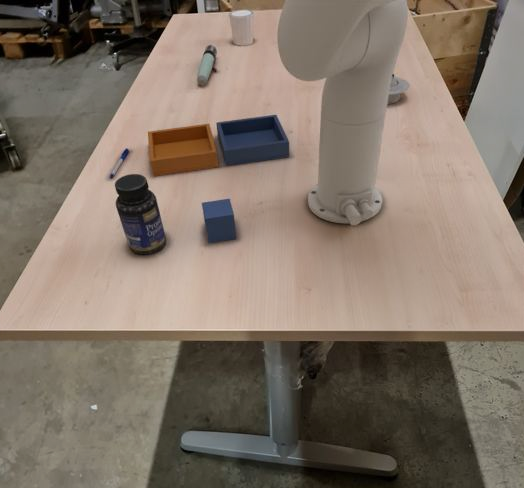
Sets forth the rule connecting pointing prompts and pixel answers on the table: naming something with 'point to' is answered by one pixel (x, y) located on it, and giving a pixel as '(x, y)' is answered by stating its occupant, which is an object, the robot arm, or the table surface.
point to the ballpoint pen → (119, 162)
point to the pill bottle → (139, 214)
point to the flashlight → (207, 64)
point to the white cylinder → (242, 26)
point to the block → (219, 220)
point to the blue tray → (252, 140)
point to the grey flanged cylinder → (396, 89)
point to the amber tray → (182, 149)
